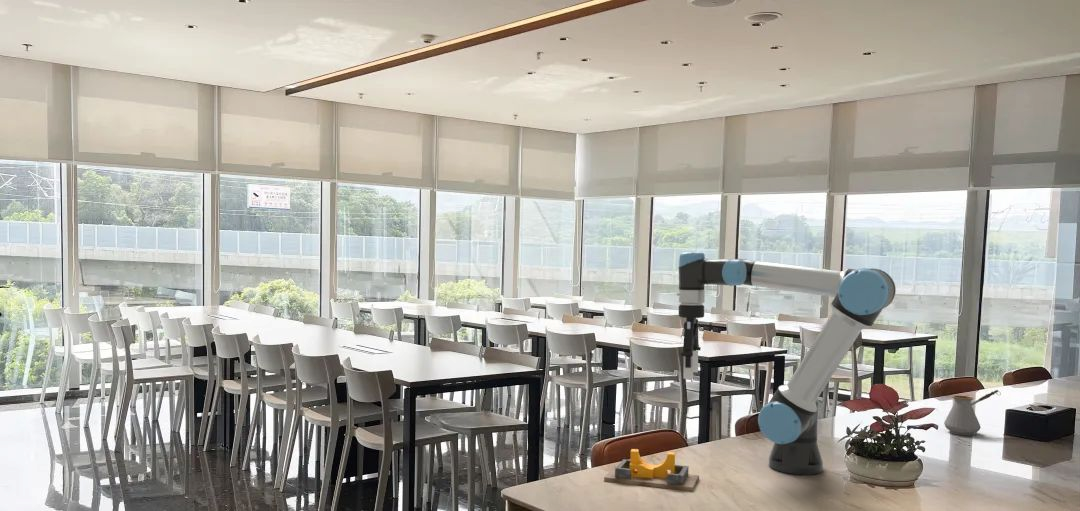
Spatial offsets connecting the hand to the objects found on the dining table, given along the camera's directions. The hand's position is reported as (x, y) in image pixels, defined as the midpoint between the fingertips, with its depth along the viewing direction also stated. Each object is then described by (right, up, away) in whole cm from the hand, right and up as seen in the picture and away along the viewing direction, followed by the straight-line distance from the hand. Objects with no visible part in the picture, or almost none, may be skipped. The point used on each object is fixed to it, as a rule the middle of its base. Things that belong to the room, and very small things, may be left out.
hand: (690, 375), depth 236 cm
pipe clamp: (-14, -25, -18) cm, 34 cm away
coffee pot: (+110, -28, +47) cm, 123 cm away
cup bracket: (-14, -26, -18) cm, 35 cm away
